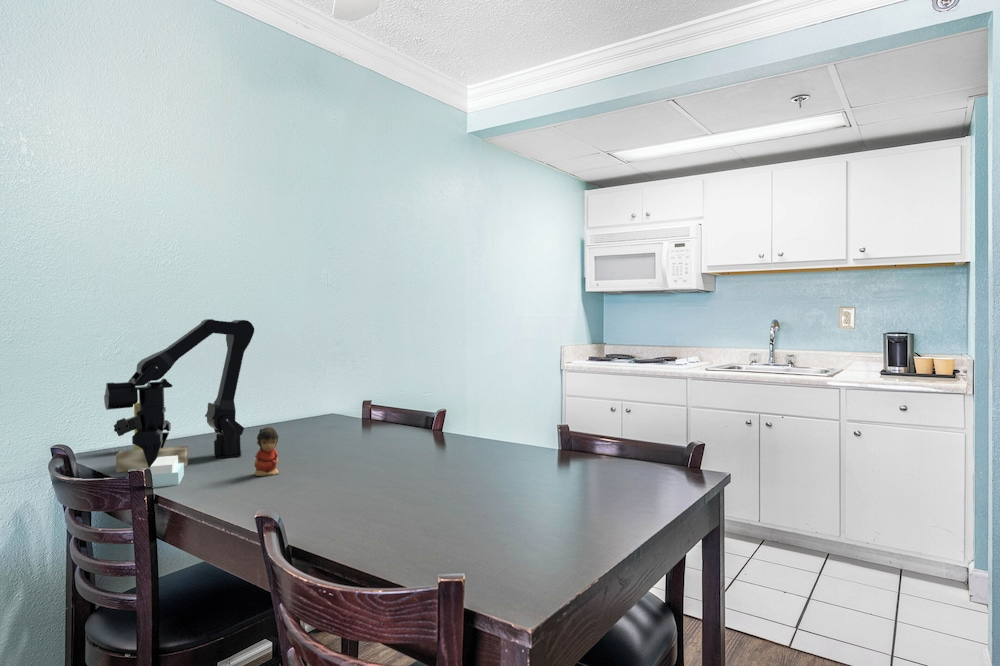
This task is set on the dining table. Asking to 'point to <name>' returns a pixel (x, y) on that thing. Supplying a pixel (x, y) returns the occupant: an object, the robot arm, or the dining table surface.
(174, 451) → the beam
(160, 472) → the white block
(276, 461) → the figurine
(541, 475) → the dining table surface
